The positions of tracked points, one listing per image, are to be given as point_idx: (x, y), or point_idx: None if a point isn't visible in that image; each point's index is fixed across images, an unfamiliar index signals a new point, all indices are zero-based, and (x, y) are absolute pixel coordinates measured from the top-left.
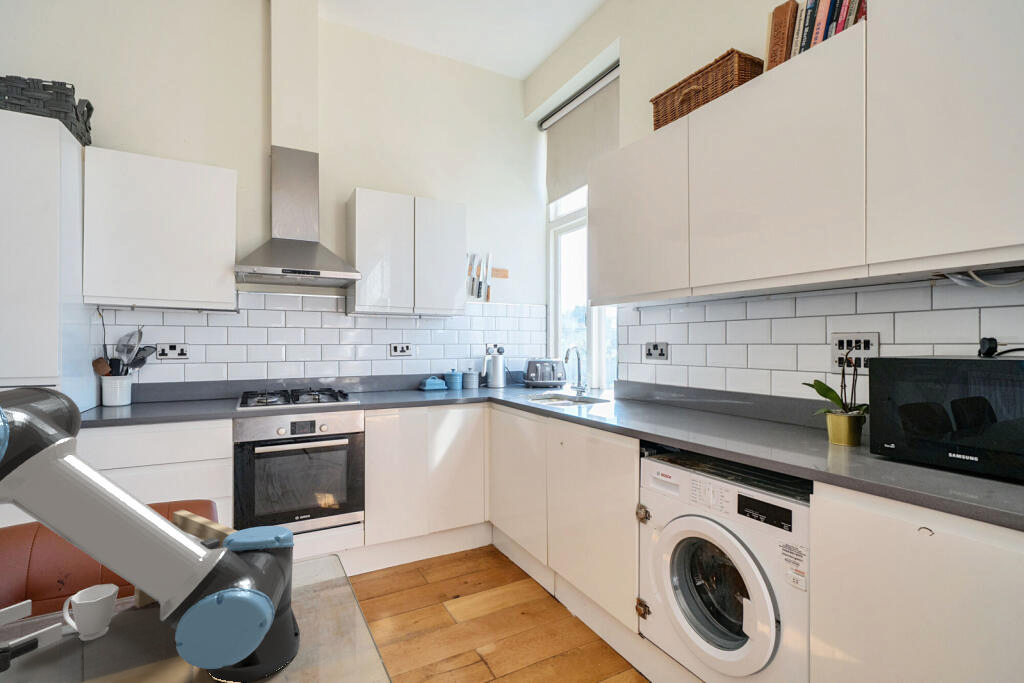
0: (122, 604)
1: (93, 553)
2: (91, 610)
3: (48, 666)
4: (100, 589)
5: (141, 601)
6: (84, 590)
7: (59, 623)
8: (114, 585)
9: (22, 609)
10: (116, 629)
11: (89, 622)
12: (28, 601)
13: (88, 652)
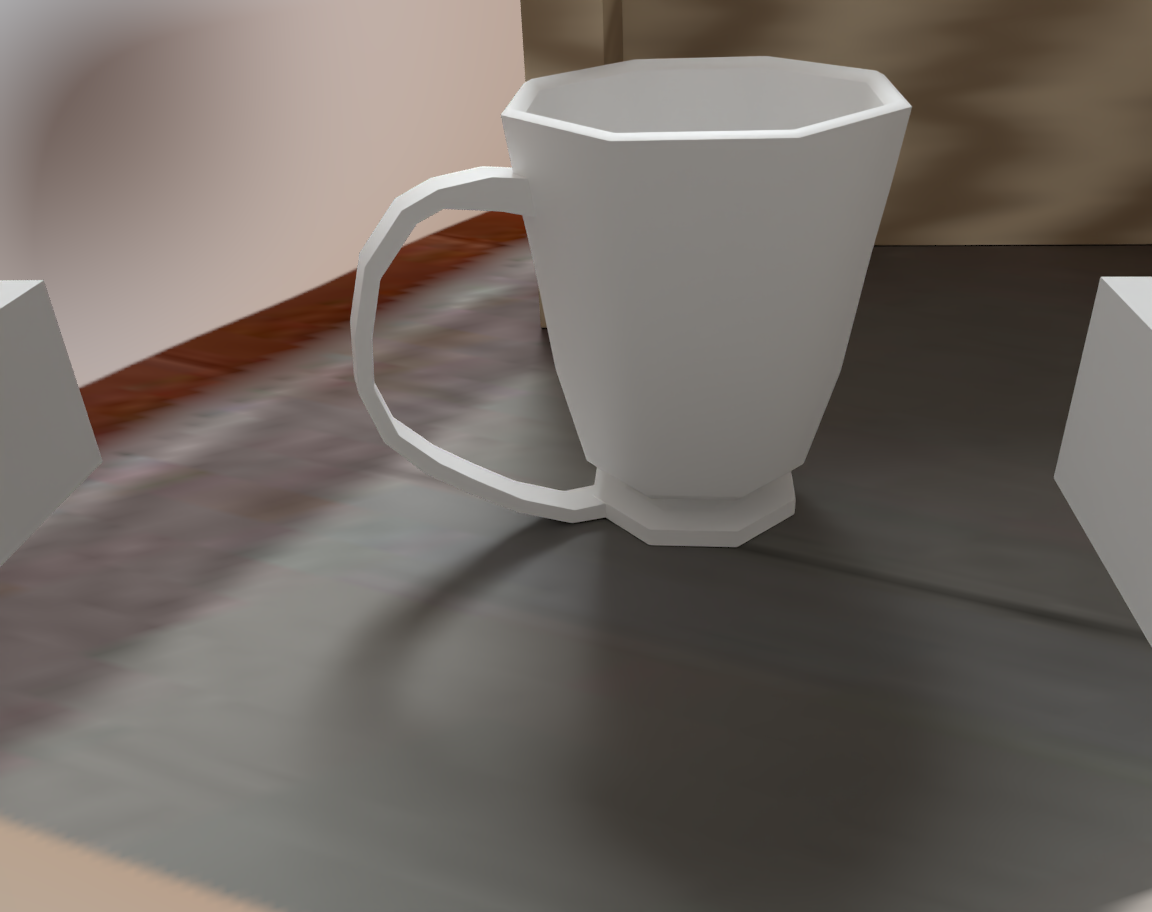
0: (445, 344)
1: None
2: (862, 225)
3: (1001, 802)
4: (574, 121)
5: None
6: (525, 109)
7: (1139, 281)
8: (697, 58)
9: (16, 399)
10: None
11: (820, 360)
12: (16, 292)
13: (1006, 582)
